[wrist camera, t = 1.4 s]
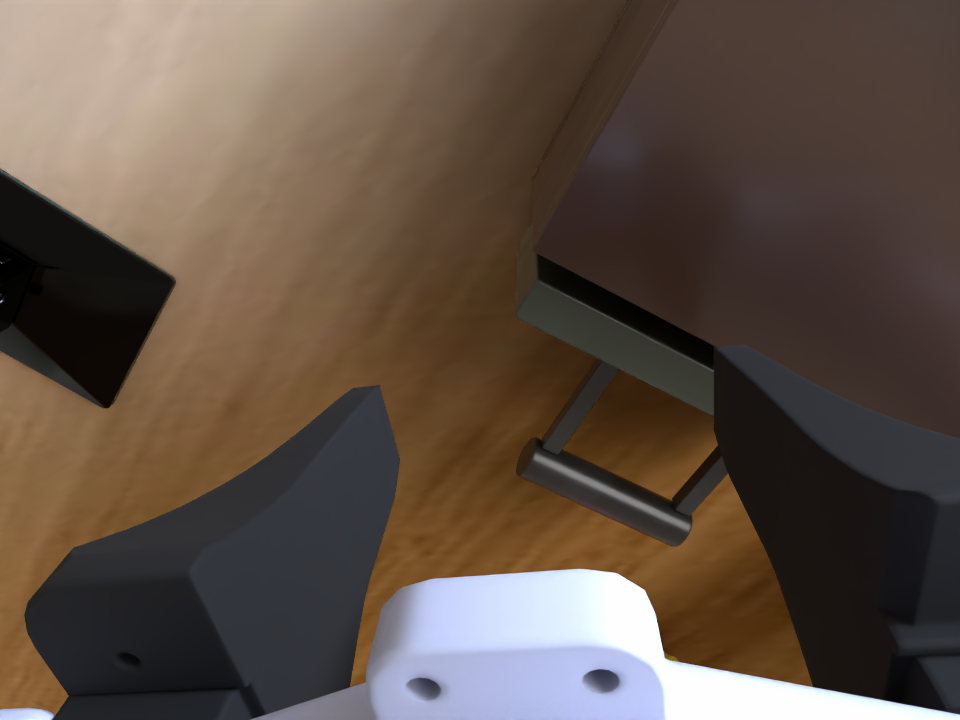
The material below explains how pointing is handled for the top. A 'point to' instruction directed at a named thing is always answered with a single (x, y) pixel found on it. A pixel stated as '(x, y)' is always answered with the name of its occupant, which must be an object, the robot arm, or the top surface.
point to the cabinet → (777, 187)
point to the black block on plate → (72, 295)
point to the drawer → (617, 345)
